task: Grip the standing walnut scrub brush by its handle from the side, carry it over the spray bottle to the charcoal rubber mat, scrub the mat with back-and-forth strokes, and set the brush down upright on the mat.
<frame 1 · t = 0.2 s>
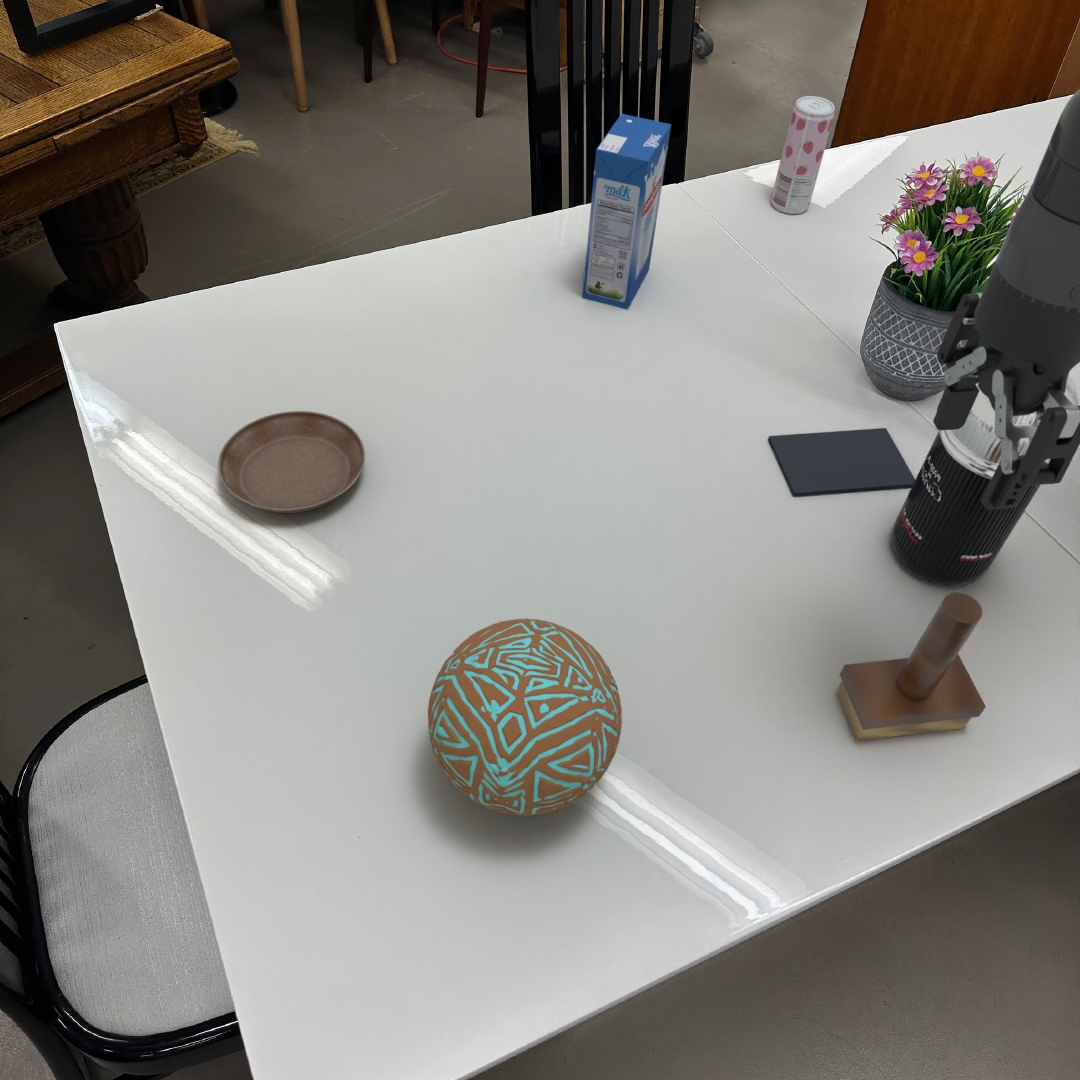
hand: (970, 464, 71), 25 cm above the table, tool pointing down, fingers open, 8 cm apart
mat: (840, 463, 106), on the table
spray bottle: (936, 553, 98), on the table
milk carton: (616, 284, 128), on the table
saucer: (296, 477, 101), on the table
beverage can: (788, 206, 143), on the table
brush: (899, 710, 86), on the table
decorative sphere: (521, 763, 80), on the table
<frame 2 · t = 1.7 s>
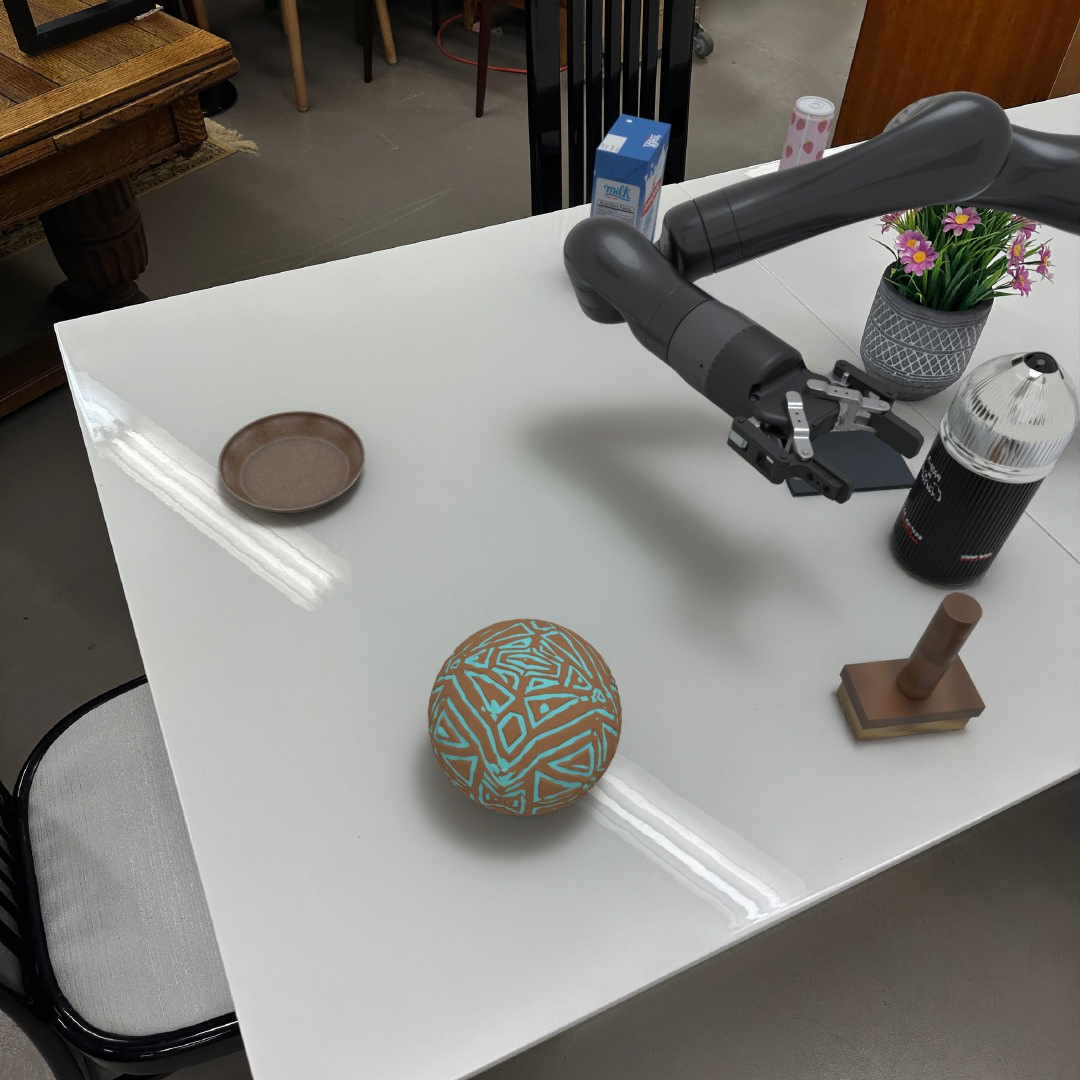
hand: (885, 471, 74), 22 cm above the table, tool horizontal, fingers open, 8 cm apart
nothing on the table moved.
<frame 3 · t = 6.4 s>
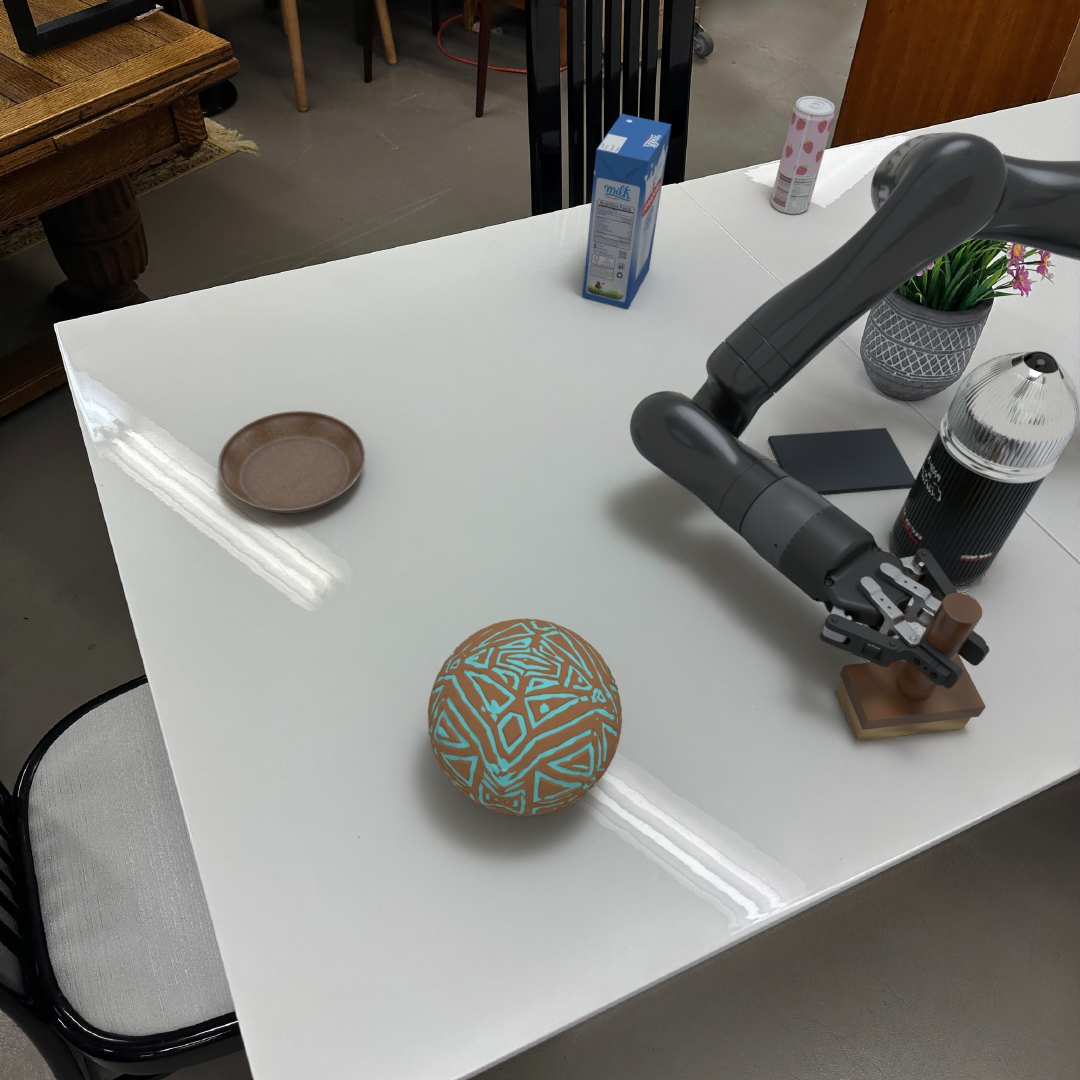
hand: (969, 668, 77), 10 cm above the table, tool horizontal, fingers closed on brush, 3 cm apart
brush: (899, 710, 86), on the table, touching gripper
everything else where it was.
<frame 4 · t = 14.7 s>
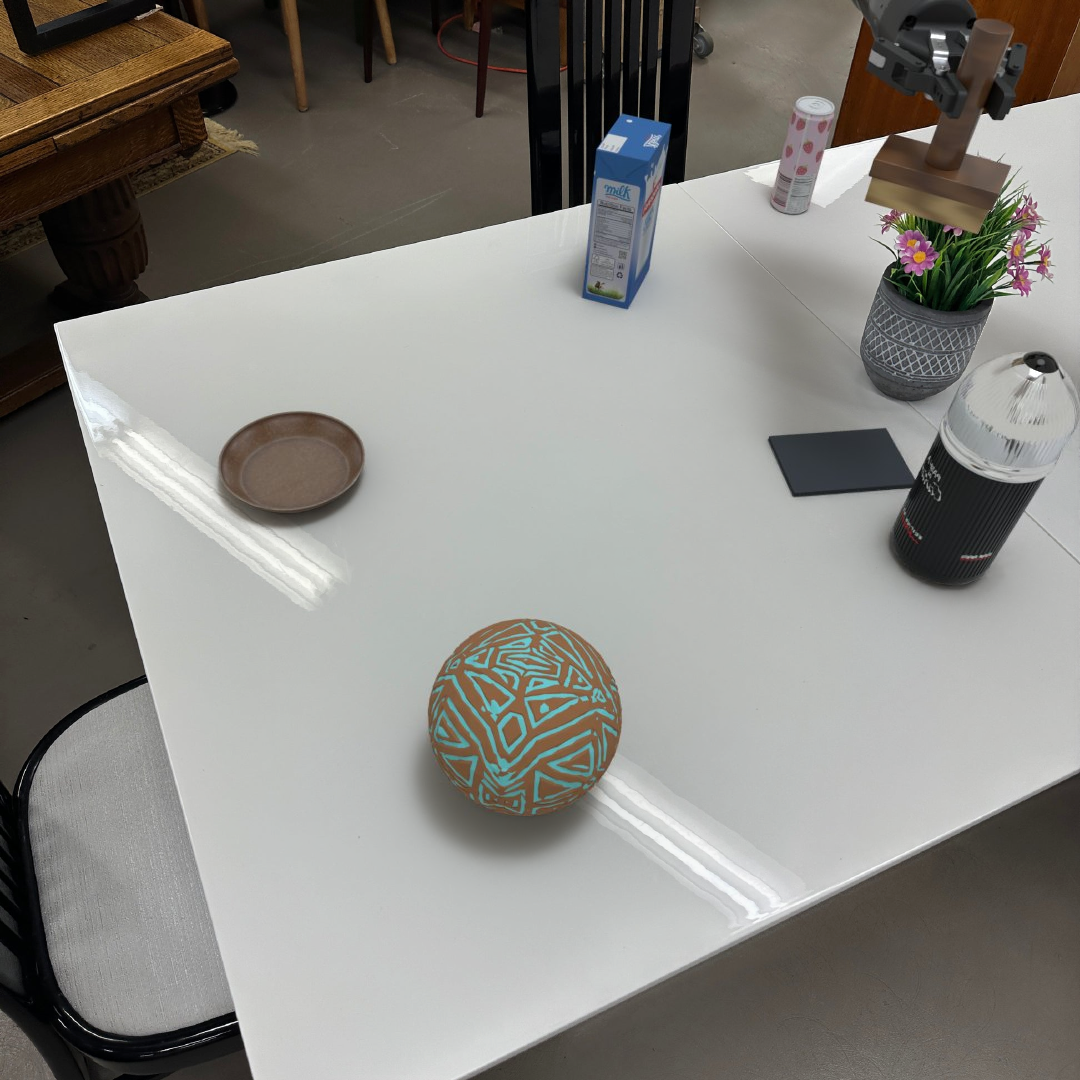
hand: (981, 107, 76), 40 cm above the table, tool horizontal, fingers closed on brush, 3 cm apart
brush: (926, 205, 85), point 30 cm above the table, touching gripper
everything else where it was.
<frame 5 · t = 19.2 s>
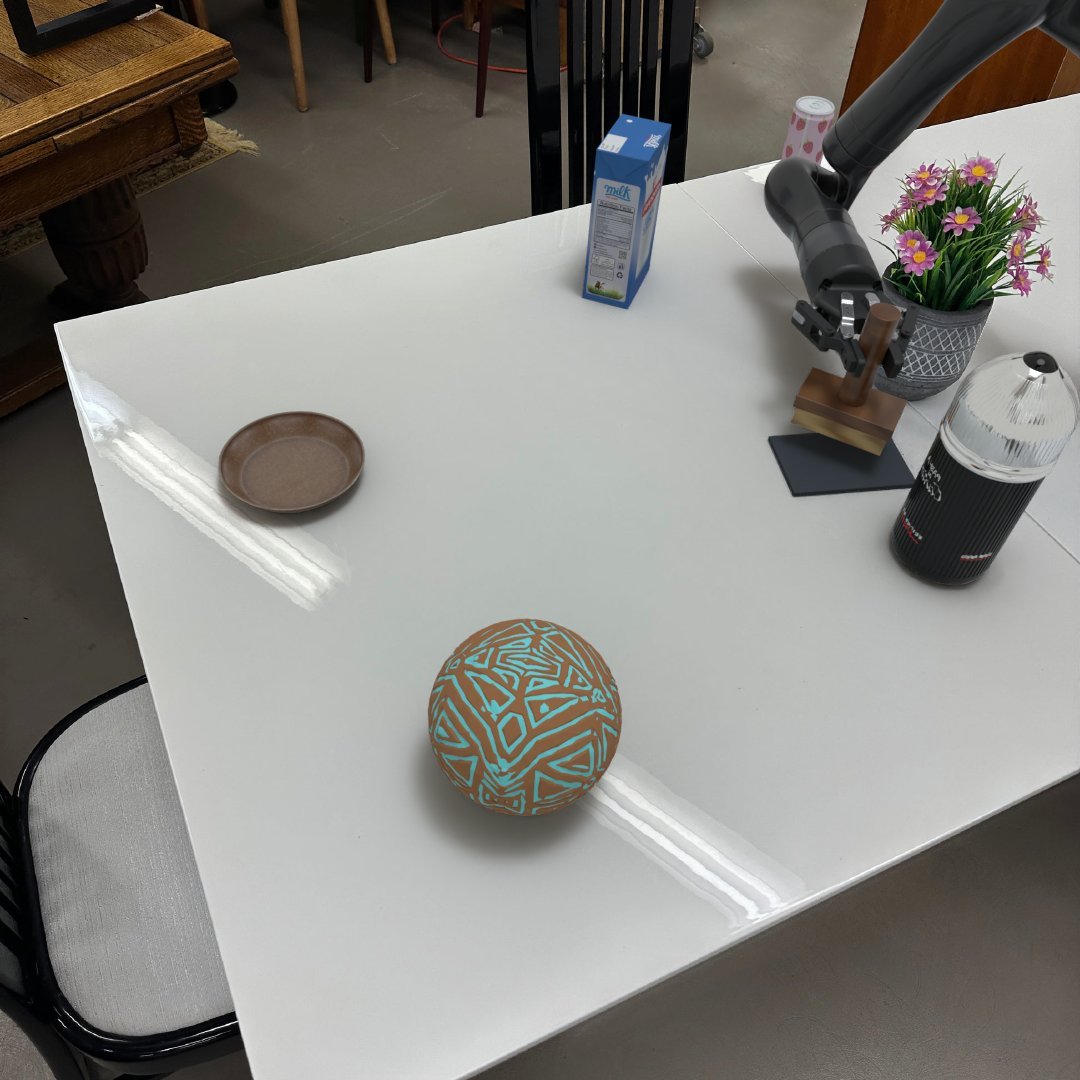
hand: (877, 370, 96), 14 cm above the table, tool horizontal, fingers closed on brush, 3 cm apart
brush: (841, 425, 105), point 4 cm above the table, touching gripper
everything else where it was.
when the fingers open (11 cm above the table, at t = 23.3 s): brush stays where it is, resting on mat.
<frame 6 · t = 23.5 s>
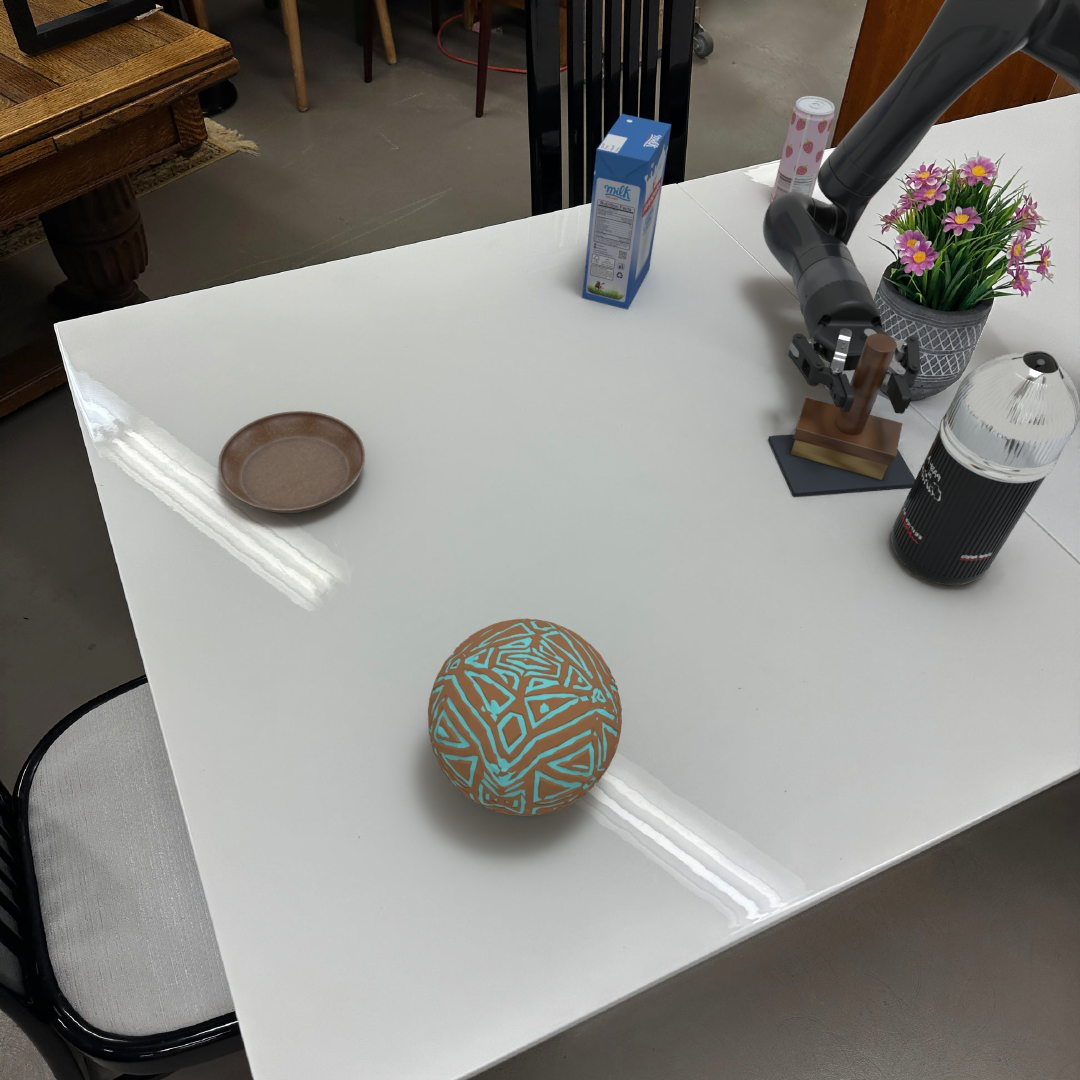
hand: (875, 406, 97), 10 cm above the table, tool horizontal, fingers open, 5 cm apart
brush: (839, 452, 107), point 1 cm above the table, touching mat
everything else where it was.
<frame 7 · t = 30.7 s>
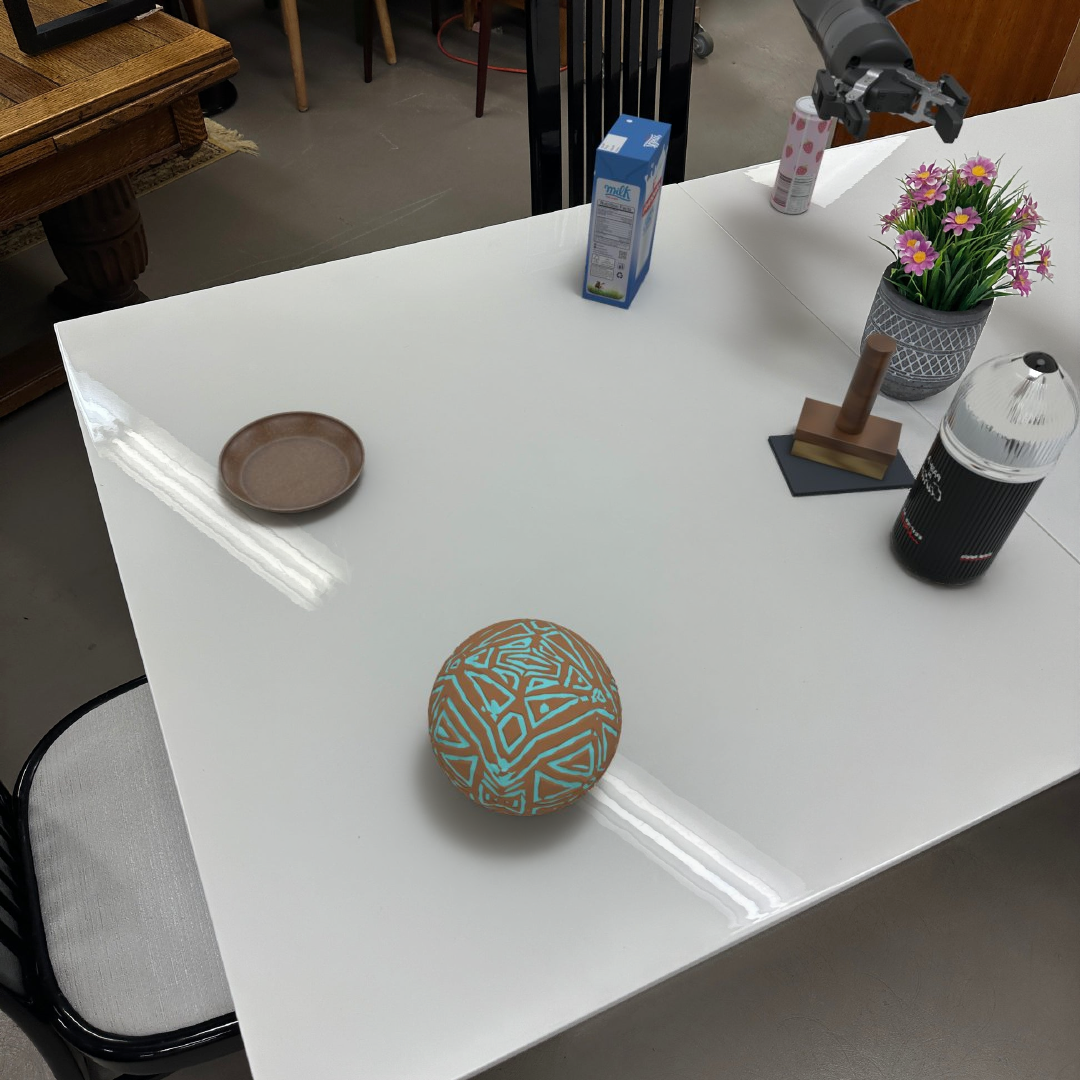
hand: (908, 132, 90), 32 cm above the table, tool horizontal, fingers open, 8 cm apart
nothing on the table moved.
at the end: brush inside the target area on the mat (1.0 cm from its centre), point 0.6 cm above the mat's base; brush tilted 0°; brush touching mat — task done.
